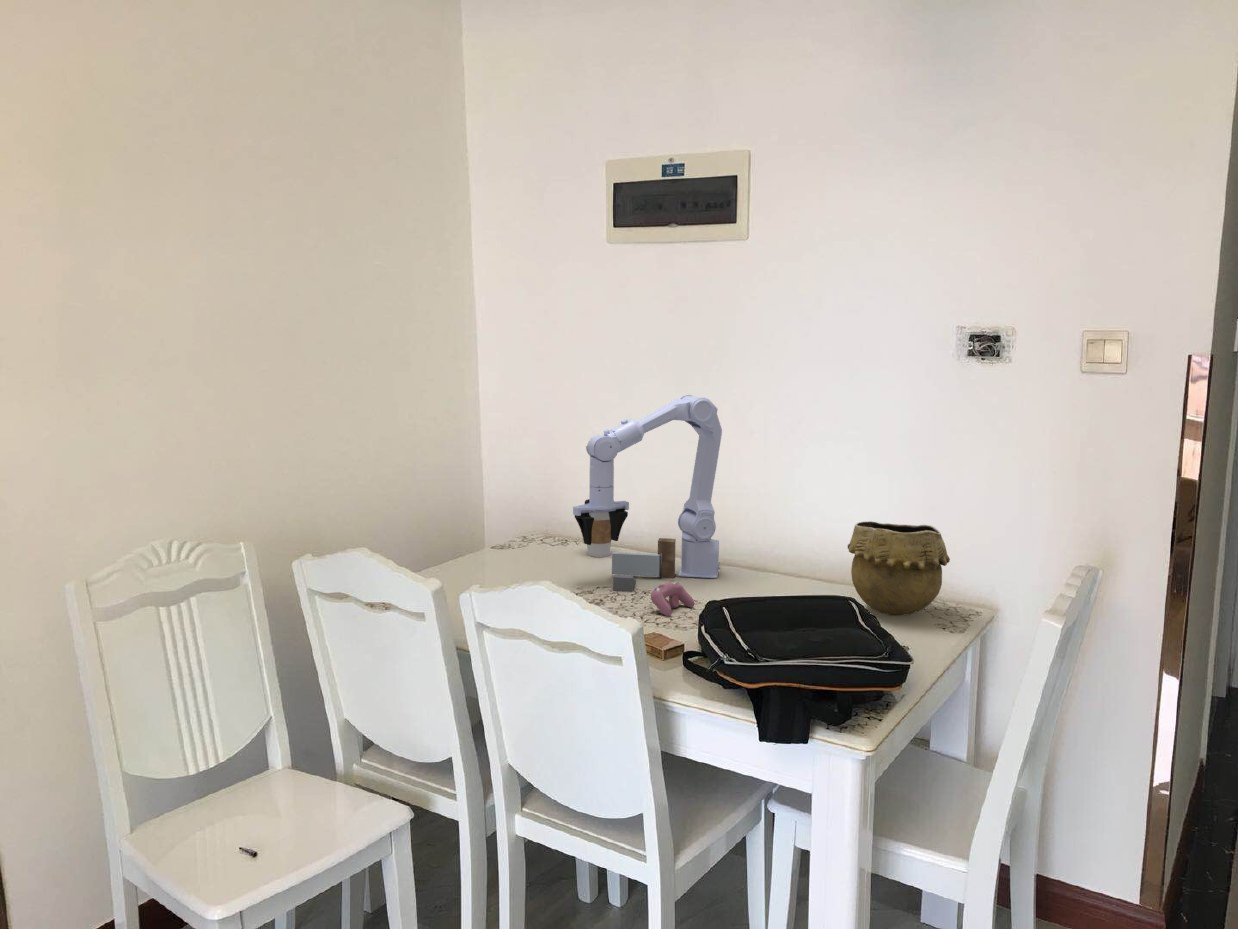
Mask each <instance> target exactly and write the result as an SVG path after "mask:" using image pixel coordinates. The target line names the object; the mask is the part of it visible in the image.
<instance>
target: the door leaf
mask: <svg viewBox="0 0 1238 929" xmlns="http://www.w3.org/2000/svg"><path fill="white" fill-rule="evenodd" d="M611 575H632V576H634V577H635V576H636V577H637V576H639V577H656V578H660V577H659V576H660V554H658V553H639V552H637V553H636V552H619V551H617V552H616V551H614V552H612V553H611Z"/></svg>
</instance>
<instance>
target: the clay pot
mask: <svg viewBox="0 0 1238 929" xmlns="http://www.w3.org/2000/svg"><path fill="white" fill-rule="evenodd" d="M847 549H848V552H849V553H850V554H854V556H853V558H852V562H851V568H850V569H851V571H850V572H851V573H850V574H851V581H852V584H853V586H854V589H855V592H856V593H857V594H858V596H859V597H860V599H861V600H862V602H864V604H866V606H868V607H870V608H871V609H873V610H874V611H876V612H878V613H880V614H883V615H887V616H892V617H893V616H894V617H898V616H907V615H912V614H914V613H917V612H920V611H922V610H924V609H925V608H927V607H928V606H929V605H930V604H931V603H932V602H933V601H935V599H936V598H937V596H938V595H939V593H940V590H941V588H942V585H943V567H946V566H947V565H948V564H949V562H951V561H950V560H951V558H950V557H949V555H948V552H947V547H946V544H945V542H944V539H943V536H942V533H941V532H940V530H939V529H937V528H936V527H935V526H933V525H928V524H920V525H919V524H918V525H914V524H897V523H880V522H877V521H872V520H871V521H870V520H869V521H861V522H857V523H856V524H854V528H853V530H852V535H851V538H850V541H849V543H848V544H847ZM942 566H943V567H942Z"/></svg>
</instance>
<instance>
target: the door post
mask: <svg viewBox="0 0 1238 929" xmlns="http://www.w3.org/2000/svg"><path fill="white" fill-rule="evenodd" d="M676 542H677V541H676V538H670V537H669V538H666V537H664V538H663V537H659V538H658V540H657V554H660V576H659V577H658V578H659V579H662V578H667V579H668V578H671V579H673V578H674V577H675V575H676Z"/></svg>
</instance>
